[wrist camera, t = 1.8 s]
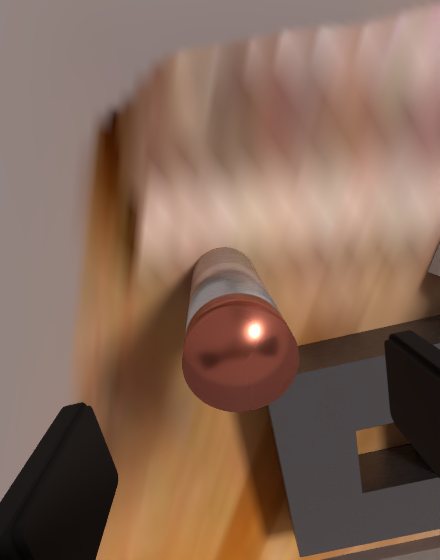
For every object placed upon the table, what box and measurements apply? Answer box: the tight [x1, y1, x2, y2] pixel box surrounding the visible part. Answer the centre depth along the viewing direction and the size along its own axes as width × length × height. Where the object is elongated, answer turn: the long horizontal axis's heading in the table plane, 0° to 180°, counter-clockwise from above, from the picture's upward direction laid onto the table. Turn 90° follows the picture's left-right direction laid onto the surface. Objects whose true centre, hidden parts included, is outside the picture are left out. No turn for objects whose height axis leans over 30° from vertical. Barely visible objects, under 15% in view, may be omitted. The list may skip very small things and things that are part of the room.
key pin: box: [182, 247, 299, 412], centre depth 16 cm, size 4×4×10 cm
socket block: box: [267, 315, 440, 557], centre depth 23 cm, size 16×16×3 cm
